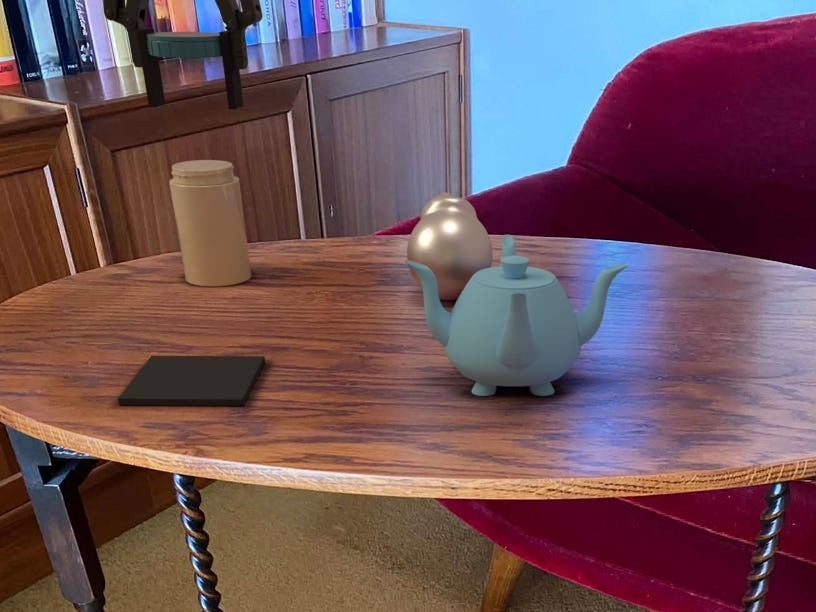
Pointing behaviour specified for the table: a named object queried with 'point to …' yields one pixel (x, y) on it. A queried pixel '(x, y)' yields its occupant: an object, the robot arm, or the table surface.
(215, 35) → the jar lid
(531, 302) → the teapot
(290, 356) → the table surface
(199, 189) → the jar
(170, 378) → the plate
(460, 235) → the shiny gold rounded piece
